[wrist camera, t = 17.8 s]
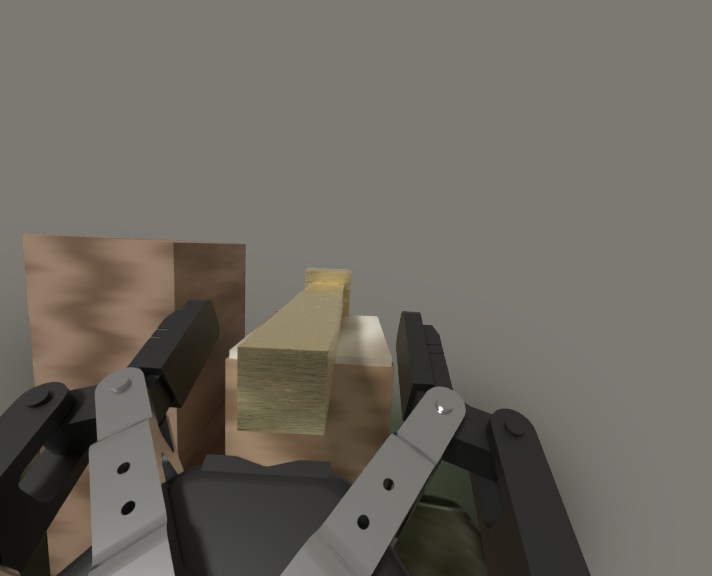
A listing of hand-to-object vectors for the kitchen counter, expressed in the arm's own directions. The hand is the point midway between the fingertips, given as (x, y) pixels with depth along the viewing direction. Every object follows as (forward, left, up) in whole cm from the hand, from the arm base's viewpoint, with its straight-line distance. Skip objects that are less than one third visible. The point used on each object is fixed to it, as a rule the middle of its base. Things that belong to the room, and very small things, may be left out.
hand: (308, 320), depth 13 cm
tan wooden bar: (+2, +12, -5) cm, 13 cm away
